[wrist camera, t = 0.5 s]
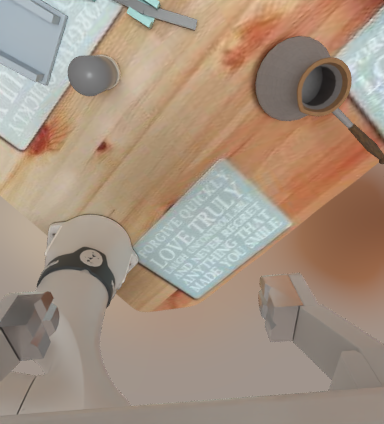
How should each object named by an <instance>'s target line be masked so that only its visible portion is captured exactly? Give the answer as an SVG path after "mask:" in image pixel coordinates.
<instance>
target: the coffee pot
mask: <svg viewBox="0 0 384 424" xmlns="http://www.w3.org/2000/svg"><path fill="white" fill-rule="evenodd" d="M255 84H256V95H257V98H258V101H259V104H260V106H261V107H262V109H263V110H264V111H265V112H266V113H267V114H268V115H270V116H271V117H272V118H275V119H278V120H282V121H293V120H298V119H301V118H303V117H305V116H307V115H311V116H324V115H327V114H329V113H331V112H332V113H333V114H334V115H335V116H336V117H337V118H338V119H339V120H340V121H341V122H342V123H343V124H344V125H345V126H347V127H348V129H349V130H350V132H351V133H352V134H353V135H354V136H355V137H356V138H357V140H358V141H359V142H360V143H361V144H362V145H363V146H364V148H365V149H366V150H367V151H368V152H370V153H371V154H373V155H374V156H375V157H377V158H378V159H379V163H380V164H384V154H383V153H382V151H381V150H380V149H379V147H378V146H377V144H376V143H375V142H374V141H373V140H371V139H370V138H369V137H368V136H367V135H366V134H365V133H364V132H362V131H361V130H360V129H359V128H358V127H357V126H356V125H355V124H353V123H352V122H351V121H350V120H349V119H348V118H347V117H346V116H345V115H344V113H343V112H342V111H341V110H340V109H339V107H340V106H341V104H342V103H343V102H344V101H345V99H346V97H347V96H348V94H349V91H350V88H351V73H350V70H349V68H348V66H347V65H346V64H345V63H344V62H343V61H342V60H339V59H337V58H331V57H330V55H329V53H328V51H327V49H326V48H325V47H324V46H323V45H322V44H321V43H320V42H319V41H316V40H314V39H312V38H310V37H302V36H298V37H293V38H288V39H286V40H284V41H283V42H281V43H279V44H277V45H276V46H275V47H274V48H273V49H272V50H271V51H269V53H268V54H267V55H266V57H265V58H264V60H263V61H262V63H261V65H260V68H259V70H258V72H257V78H256V83H255Z"/></svg>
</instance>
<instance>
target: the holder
mask: <svg viewBox="0 0 384 424" xmlns="http://www.w3.org/2000/svg"><path fill="white" fill-rule="evenodd" d="M67 19H68V16H66V15H65V14H63V13H61V12H60V11H58V10H56V9H55V8H53V7H52V6H50V5H48V4H47V3H45V2H43V1H42V0H0V64H2V65H4V66H6V67H8V68H10V69H12V70H13V71H15V72H17V73H19V74H21V75H23V76H25V77H27V78H29V79H30V80H32V81H34V82H39V83H41V84H43V85H48V83H49V79H50V76H51V72H52V69H53V66H54V62H55V59H56V56H57V52H58V49H59V45H60V42H61V39H62V35H63V32H64V29H65V25H66V22H67Z"/></svg>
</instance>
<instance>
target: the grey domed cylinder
mask: <svg viewBox="0 0 384 424" xmlns="http://www.w3.org/2000/svg"><path fill="white" fill-rule="evenodd" d="M120 77H121V72H120V68H119V65H118V64H117V62H116V61H115V60H114V59H113V58H111V57H110V56H107V55H96V56H79V57H76V58H74V59H73V60H72V61H71V63H70V64H69V67H68V78H69V81H70V83H71V85H72V86H73V88H74V89H75V90H76V91H77V92H79V93H80V94H82V95H85V96H95V95H97V94H99V93H101V92H103V91H105V90H109V89H111V88H113V87H115V86H116V85H117V84H118V83H119V81H120Z"/></svg>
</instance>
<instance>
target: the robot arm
mask: <svg viewBox="0 0 384 424" xmlns="http://www.w3.org/2000/svg"><path fill="white" fill-rule="evenodd" d="M54 233H55V234H56V235H55V234H54ZM45 256H46V258H45V269H44V270H43V272H42V274H41V276H40V278H39V281H38V283H37V289H36V290H35V292H22V293H9V294H7V295H5V296H4V298H3V299H2V300H1V302H0V424H384V344H383V343H382V342H380V341H379V340H377V339H375V338H374V337H372V336H371V335H369V334H368V333H366V332H364V331H363V330H362V329H360V328H359V327H357V326H355V325H354V324H352V323H351V322H349V321H348V320H346V319H345V318H343V317H342V316H340V315H338V314H337V313H335V312H334V311H332V310H331V309H329V308H328V307H326V306H324V305H319V304H318V302H317V300H316V298H315V297H314V295H313V293H312V291H311V290H310V288H309V286H308V285H307V283H306V281H305V279H304V278H303V276H302V274H300V273H292V274H281V275H268V276H261V277H260V287H261V290H260V291H259V295H258V299H259V300H258V301H259V308H260V312H261V316H262V317H263V318H264V319H265V320H266V321H265V328H266V331H267V334H268V337H269V340H270V342H280V341H293V343H294V344H295V345H296V346H297V347H299V348H300V349H301V350H302V351H303V352H304V353H305V354H306V355H307V356H308V357H309V358H310V359H311V360H312V361H313V362H314V363H315V364H316V365H317V366H318V367H319V368H320V369H321V370H322V371H323V372H324V373H325V374H326V375H327V376H328V377H329V378H330V379H331V380H332V382H331V385H330V388H329V390H328V391H322V392H309V393H295V394H282V395H270V396H257V397H242V398H230V399H217V400H203V401H190V402H176V403H163V404H150V405H138V406H131V405H130V403H129V401H128V400H127V399H126V398H125V397H124V396H123V395H122V393H121V392H120V391H119V390H118V389H117V388H116V386H115V385H114V383H113V382H112V380H111V378H110V376H109V375H108V373H107V370H106V369H105V366H104V363H103V360H102V355H101V350H100V335H101V329H102V322H103V318H104V314H105V310H106V308H107V307H108V306H109V304H110V301H111V299H112V298H113V297H114V295H115V294H116V291H117V290H116V289H118V290H119V289H120V288H121V286H122V283H124V281H125V278H126V275H127V274H128V272H129V271H130V270H131V269H132V268H133V267H134V266H135V265H136V264H137V263H138V260H139V258H138V256H137V254H136V253H135V251H134V250H133V249H132V246H131V241H130V238H129V236H128V234H127V232H126V231H125V230H124V229H123V228H122V227H121V226H120V225H119V224H118V223H116V222H115V221H113V220H111V219H109V218H107V217H104V216H99V215H82V216H78V217H75V218H73V219H71V220H69V221H67V222H58V223H53V224H51V225H50V227H49V230H48V240H47V250H46V251H45ZM24 360H33V361H34V362H35V363H37V364H38V365H39V366H40V368H41V369H42V371H43V372H44V375H37V376H35V375H30V374H23V373H18V372H12V370H13V369H14V368H15V367H16V366H17V365H18V364H19V363H20V361H24Z"/></svg>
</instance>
